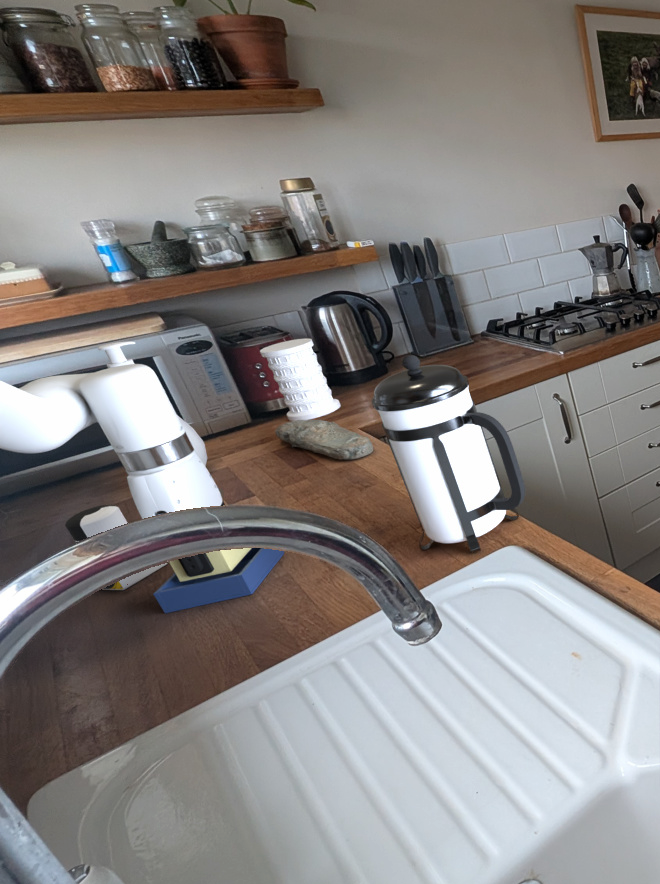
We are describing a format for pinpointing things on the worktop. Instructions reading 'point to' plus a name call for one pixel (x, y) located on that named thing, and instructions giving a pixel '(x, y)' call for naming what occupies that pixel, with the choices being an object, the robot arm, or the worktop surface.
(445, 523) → the coffee press
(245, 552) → the cream bin
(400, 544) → the worktop surface
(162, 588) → the blue bin
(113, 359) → the soap bottle
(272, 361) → the decorative container
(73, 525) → the medicine bottle
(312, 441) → the elongated rock
